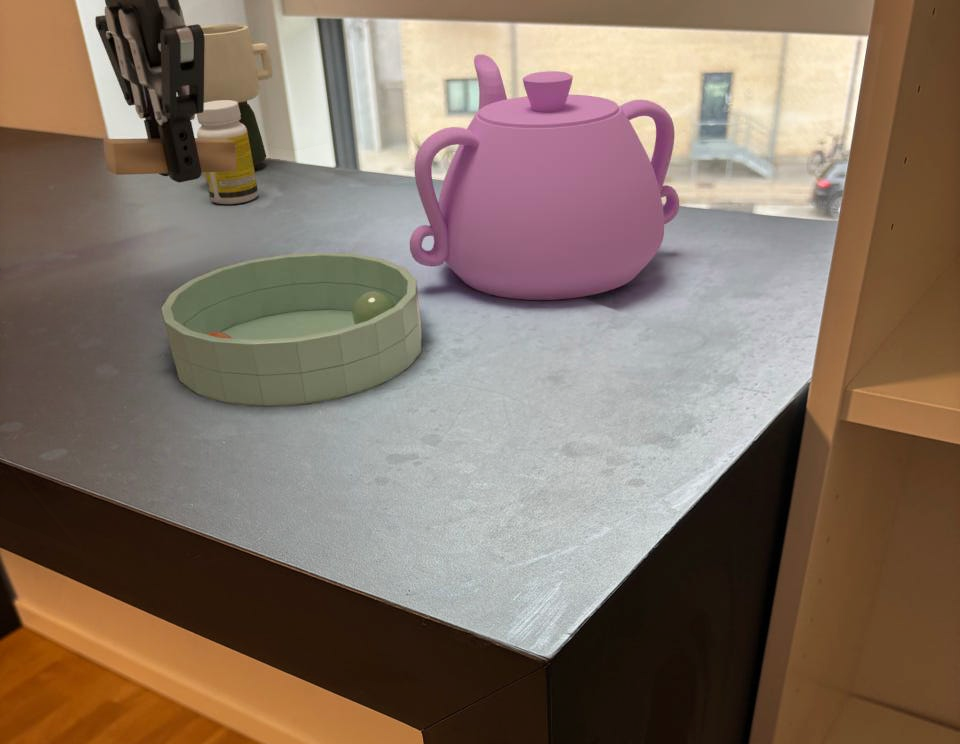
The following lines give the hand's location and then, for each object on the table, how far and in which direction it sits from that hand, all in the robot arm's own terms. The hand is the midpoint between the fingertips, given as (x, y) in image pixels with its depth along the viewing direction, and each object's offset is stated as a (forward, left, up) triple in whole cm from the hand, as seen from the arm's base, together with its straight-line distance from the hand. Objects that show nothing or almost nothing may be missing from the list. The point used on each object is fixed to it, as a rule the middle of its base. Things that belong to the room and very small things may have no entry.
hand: (179, 175), depth 74 cm
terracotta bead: (-6, -18, -7) cm, 21 cm away
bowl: (-1, -17, -9) cm, 19 cm away
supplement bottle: (+14, +23, -9) cm, 29 cm away
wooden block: (0, 0, 0) cm, 1 cm away
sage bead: (+4, -18, -5) cm, 19 cm away
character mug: (+20, +34, -9) cm, 41 cm away
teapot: (+22, -14, -9) cm, 28 cm away
